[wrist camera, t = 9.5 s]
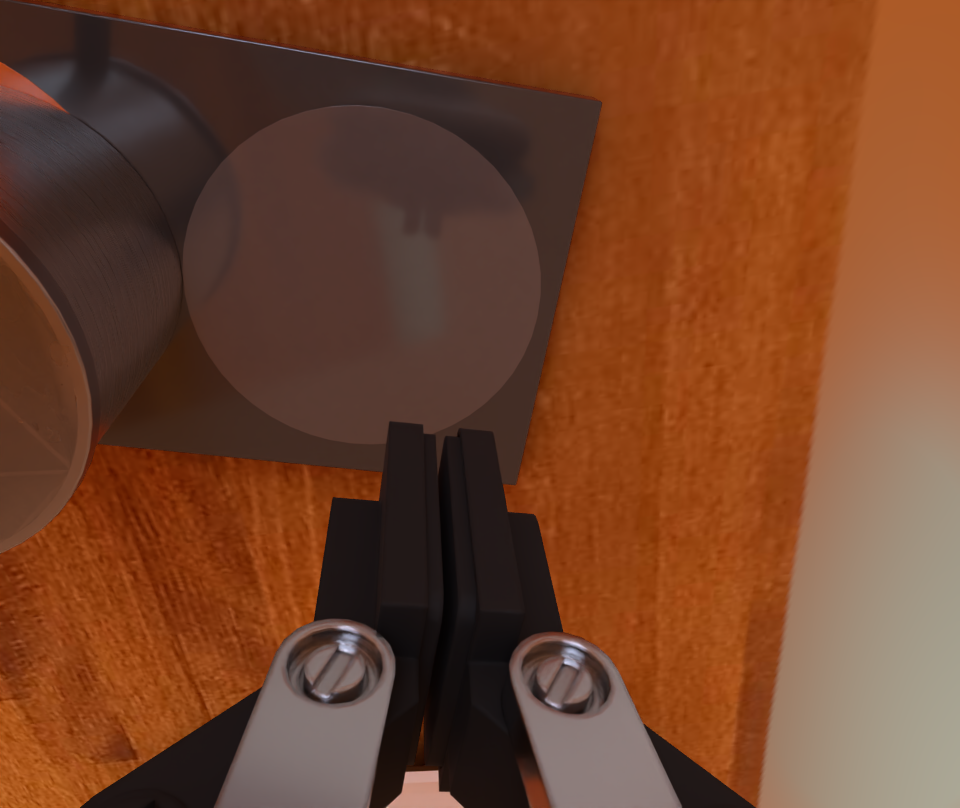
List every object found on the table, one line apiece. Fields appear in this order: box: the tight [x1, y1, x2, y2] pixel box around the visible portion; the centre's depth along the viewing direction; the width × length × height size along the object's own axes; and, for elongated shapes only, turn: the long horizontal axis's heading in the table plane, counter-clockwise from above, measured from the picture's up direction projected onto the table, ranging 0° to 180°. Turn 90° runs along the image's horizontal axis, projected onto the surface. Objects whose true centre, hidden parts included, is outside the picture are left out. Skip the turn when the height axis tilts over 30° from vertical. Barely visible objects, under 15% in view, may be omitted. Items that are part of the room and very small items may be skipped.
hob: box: [0, 0, 602, 485], centre depth 21 cm, size 12×22×1 cm, turn 81°
